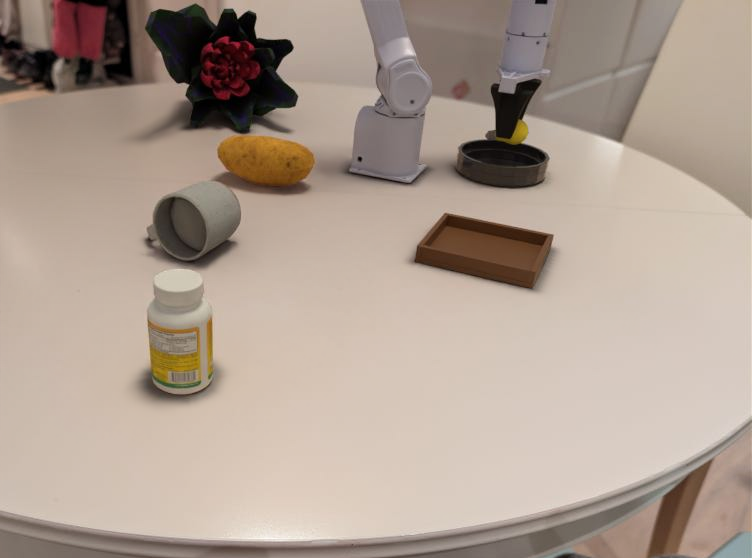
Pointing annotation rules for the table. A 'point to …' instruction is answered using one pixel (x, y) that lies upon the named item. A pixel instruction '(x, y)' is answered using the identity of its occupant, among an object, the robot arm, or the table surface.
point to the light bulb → (516, 138)
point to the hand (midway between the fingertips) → (506, 134)
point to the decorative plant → (222, 63)
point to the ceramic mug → (195, 219)
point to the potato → (266, 159)
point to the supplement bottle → (180, 332)
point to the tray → (485, 249)
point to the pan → (501, 163)
